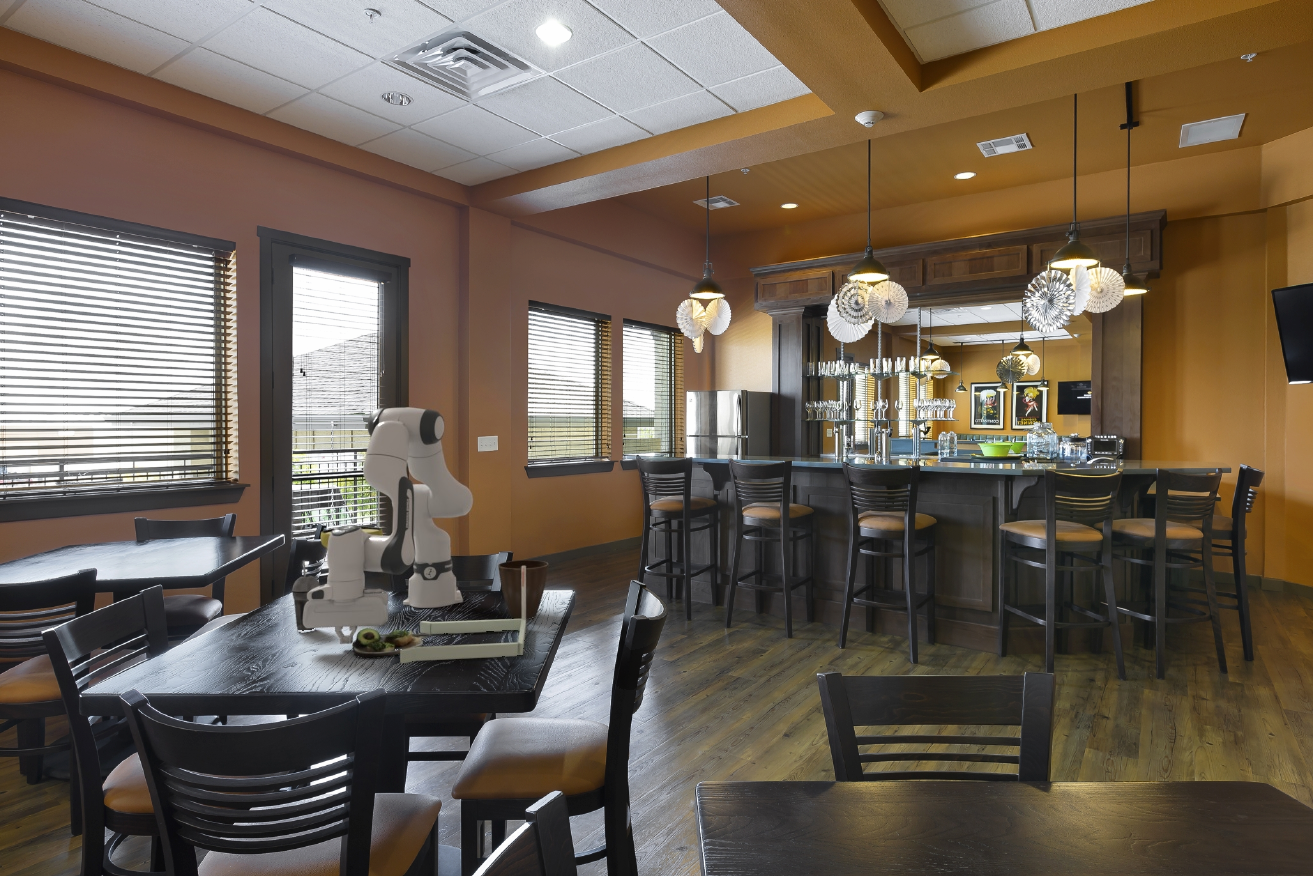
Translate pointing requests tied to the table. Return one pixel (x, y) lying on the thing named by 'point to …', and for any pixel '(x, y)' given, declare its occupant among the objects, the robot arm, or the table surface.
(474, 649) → the corral
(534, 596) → the plant pot
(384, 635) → the avocado toast plate
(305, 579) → the beverage cup
